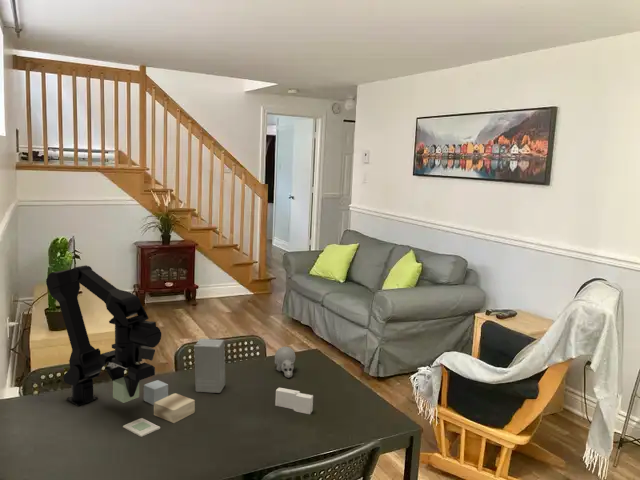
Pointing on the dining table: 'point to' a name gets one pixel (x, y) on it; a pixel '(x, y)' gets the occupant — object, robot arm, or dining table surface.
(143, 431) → the card
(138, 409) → the dining table surface
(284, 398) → the white stepped block
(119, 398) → the sage cube
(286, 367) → the round bodied animal figurine
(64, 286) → the robot arm
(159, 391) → the blue-grey cube
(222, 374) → the skincare box
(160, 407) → the birch block
